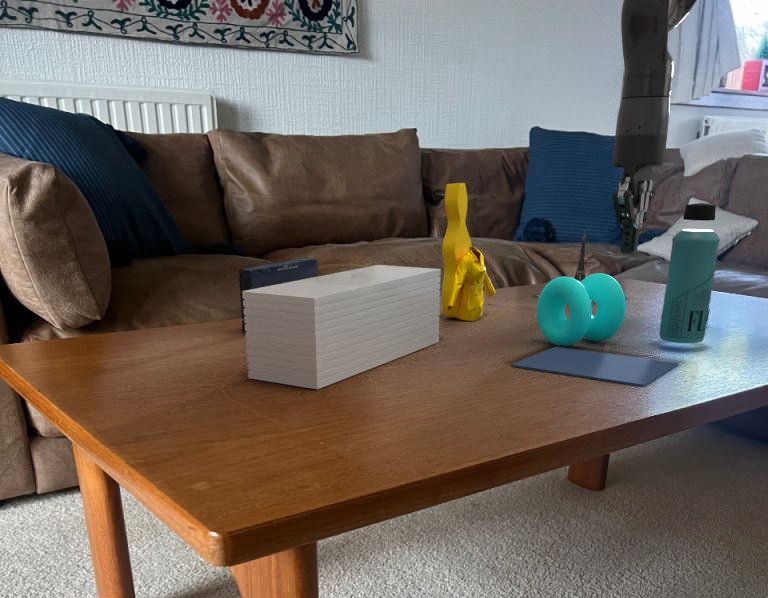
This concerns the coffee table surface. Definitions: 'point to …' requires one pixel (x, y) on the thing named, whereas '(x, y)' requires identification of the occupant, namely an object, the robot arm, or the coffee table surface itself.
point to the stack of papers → (339, 323)
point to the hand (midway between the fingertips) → (628, 253)
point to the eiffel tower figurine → (580, 262)
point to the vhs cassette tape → (275, 276)
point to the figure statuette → (462, 262)
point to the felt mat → (597, 366)
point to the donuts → (581, 309)
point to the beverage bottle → (690, 279)
